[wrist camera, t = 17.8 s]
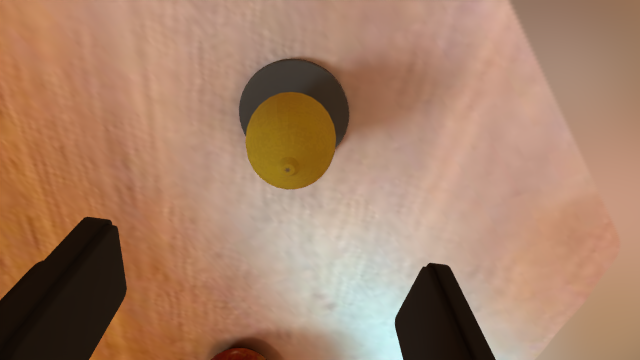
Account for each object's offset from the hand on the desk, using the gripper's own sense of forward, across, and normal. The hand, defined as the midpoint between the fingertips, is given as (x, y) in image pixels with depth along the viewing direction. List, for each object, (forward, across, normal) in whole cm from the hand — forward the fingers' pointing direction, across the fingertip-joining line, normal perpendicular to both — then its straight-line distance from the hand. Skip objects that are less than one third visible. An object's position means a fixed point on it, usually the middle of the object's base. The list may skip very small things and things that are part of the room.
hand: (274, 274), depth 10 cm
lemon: (+16, 0, +1) cm, 16 cm away
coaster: (+16, 0, +1) cm, 16 cm away
